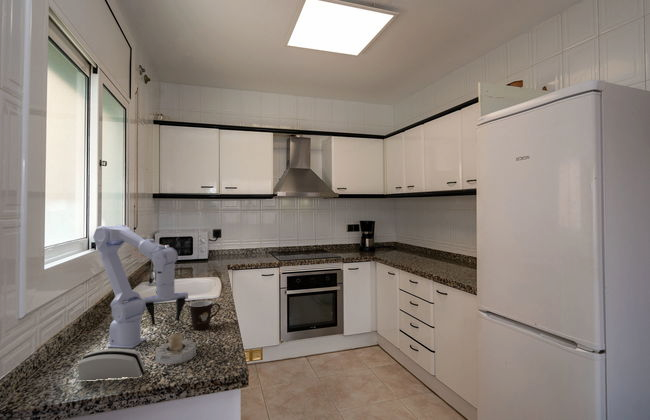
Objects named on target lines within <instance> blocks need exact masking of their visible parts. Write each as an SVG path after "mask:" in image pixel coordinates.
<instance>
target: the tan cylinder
mask: <svg viewBox="0 0 650 420" xmlns="http://www.w3.org/2000/svg"><path fill="white" fill-rule="evenodd" d="M183 340H184V338H183V333H181V332H179V333H172V334H170V335H169V337H168V343H169V351H179V350H181V349H183Z"/></svg>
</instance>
